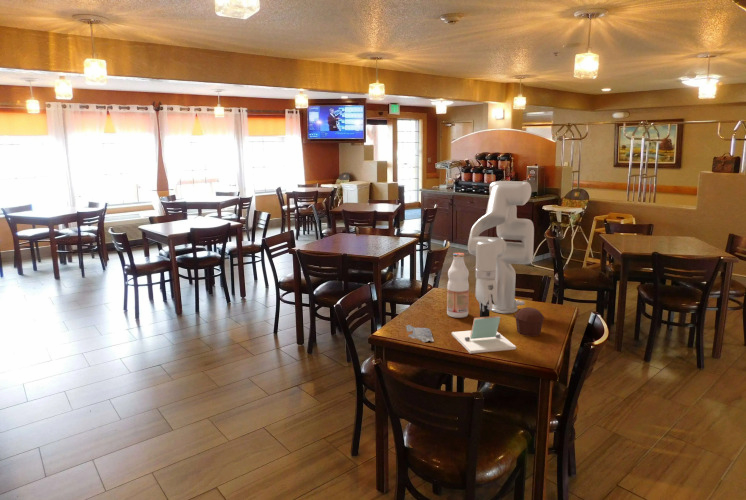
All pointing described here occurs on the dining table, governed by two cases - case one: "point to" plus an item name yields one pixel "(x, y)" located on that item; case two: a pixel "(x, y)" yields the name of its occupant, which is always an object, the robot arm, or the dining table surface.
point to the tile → (485, 327)
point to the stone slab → (420, 333)
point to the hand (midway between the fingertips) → (484, 320)
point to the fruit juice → (458, 287)
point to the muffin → (529, 321)
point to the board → (483, 342)
